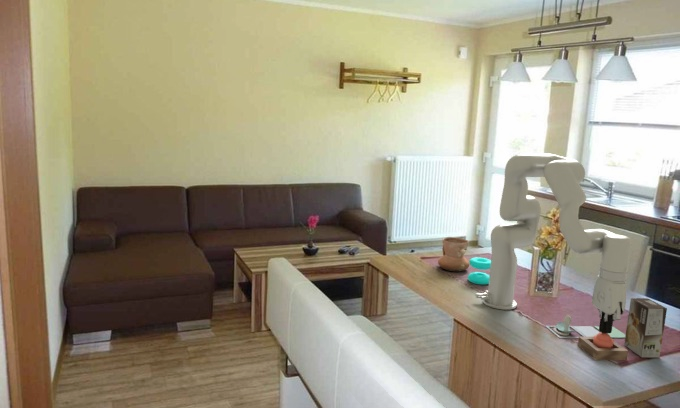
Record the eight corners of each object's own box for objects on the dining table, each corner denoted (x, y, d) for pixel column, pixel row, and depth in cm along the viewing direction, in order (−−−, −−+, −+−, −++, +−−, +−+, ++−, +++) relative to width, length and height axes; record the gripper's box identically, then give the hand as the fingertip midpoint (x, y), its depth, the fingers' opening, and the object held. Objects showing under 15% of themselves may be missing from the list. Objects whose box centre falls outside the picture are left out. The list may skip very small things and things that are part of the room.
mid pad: (587, 338, 172) (587, 337, 172) (572, 327, 180) (572, 326, 180) (606, 338, 172) (606, 337, 172) (591, 327, 181) (591, 326, 181)
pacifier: (560, 338, 172) (577, 337, 172) (562, 320, 170) (579, 319, 171) (549, 328, 179) (565, 328, 179) (550, 311, 178) (567, 311, 178)
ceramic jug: (476, 273, 238) (479, 243, 236) (448, 274, 233) (450, 244, 231) (456, 263, 255) (459, 235, 253) (430, 264, 250) (432, 235, 248)
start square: (559, 338, 170) (559, 337, 170) (545, 326, 180) (545, 325, 180) (587, 338, 171) (587, 337, 171) (571, 326, 181) (571, 325, 181)
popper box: (595, 360, 156) (597, 350, 155) (577, 345, 166) (578, 336, 165) (626, 360, 157) (628, 350, 156) (606, 345, 167) (608, 336, 166)
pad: (609, 338, 172) (609, 337, 172) (594, 327, 181) (594, 326, 181) (629, 338, 173) (629, 337, 173) (612, 327, 182) (612, 326, 182)
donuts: (465, 256, 228) (485, 256, 231) (463, 278, 230) (483, 277, 232) (476, 263, 219) (497, 262, 221) (474, 285, 220) (495, 285, 223)
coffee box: (660, 358, 159) (668, 308, 157) (641, 357, 159) (649, 308, 156) (641, 344, 168) (648, 297, 166) (622, 344, 168) (629, 297, 165)
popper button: (599, 350, 158) (601, 336, 157) (588, 342, 163) (590, 328, 162) (616, 350, 158) (618, 336, 158) (605, 342, 164) (607, 329, 163)
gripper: (587, 267, 164) (580, 322, 167) (616, 282, 149) (608, 342, 152) (609, 268, 165) (602, 322, 168) (640, 283, 150) (632, 342, 153)
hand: (605, 331), depth 160 cm, fingers closed
